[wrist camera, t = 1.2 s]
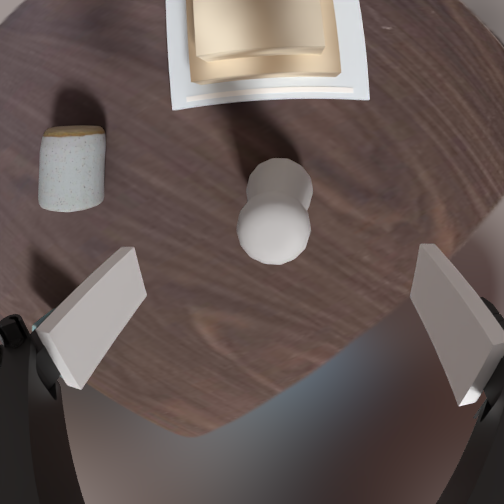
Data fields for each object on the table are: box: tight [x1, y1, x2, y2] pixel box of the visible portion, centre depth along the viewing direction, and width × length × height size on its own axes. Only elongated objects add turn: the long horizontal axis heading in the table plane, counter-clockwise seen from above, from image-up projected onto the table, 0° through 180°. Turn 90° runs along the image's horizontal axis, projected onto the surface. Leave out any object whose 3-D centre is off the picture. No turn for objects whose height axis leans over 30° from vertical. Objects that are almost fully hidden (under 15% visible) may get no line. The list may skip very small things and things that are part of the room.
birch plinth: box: [186, 0, 341, 85], centre depth 18 cm, size 12×12×6 cm
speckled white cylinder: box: [38, 125, 106, 212], centre depth 26 cm, size 11×8×8 cm
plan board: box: [166, 0, 370, 110], centre depth 21 cm, size 18×16×1 cm
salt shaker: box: [237, 158, 313, 265], centre depth 22 cm, size 6×6×13 cm
